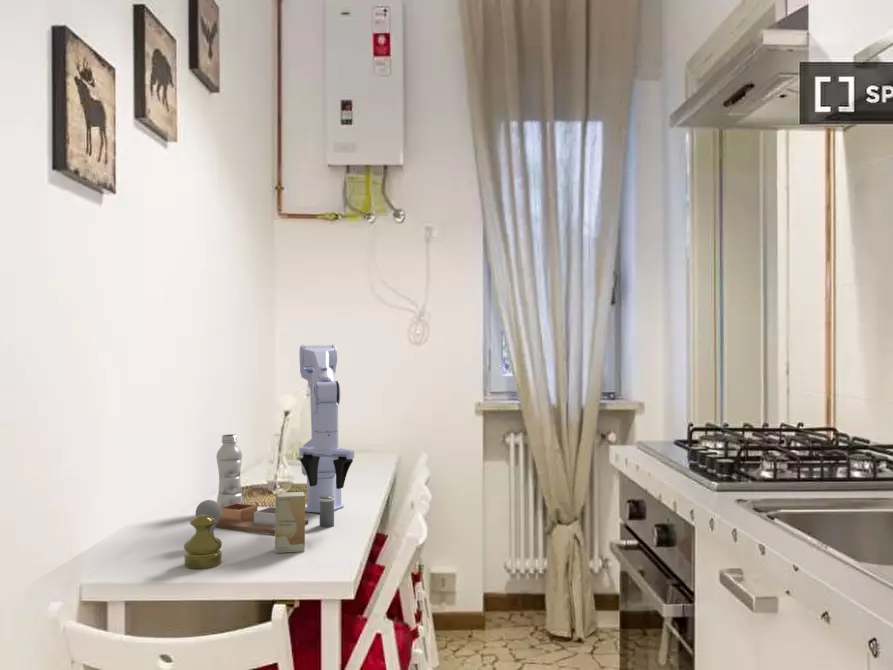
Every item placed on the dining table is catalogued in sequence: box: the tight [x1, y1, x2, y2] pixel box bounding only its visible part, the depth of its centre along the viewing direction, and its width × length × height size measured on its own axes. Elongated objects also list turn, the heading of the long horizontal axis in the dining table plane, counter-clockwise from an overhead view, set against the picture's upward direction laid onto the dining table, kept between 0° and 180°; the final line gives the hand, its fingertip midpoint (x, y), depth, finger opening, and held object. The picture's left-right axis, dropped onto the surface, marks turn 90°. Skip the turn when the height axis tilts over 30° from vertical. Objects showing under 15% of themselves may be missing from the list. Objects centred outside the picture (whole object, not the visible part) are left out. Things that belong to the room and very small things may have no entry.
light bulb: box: [195, 499, 221, 536], centre depth 183 cm, size 5×5×10 cm
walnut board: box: [214, 519, 309, 536], centre depth 201 cm, size 12×22×1 cm, turn 65°
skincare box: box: [274, 491, 306, 554], centre depth 178 cm, size 6×4×12 cm
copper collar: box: [219, 503, 258, 523], centre depth 204 cm, size 6×6×3 cm
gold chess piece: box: [183, 515, 223, 570], centre depth 168 cm, size 7×7×10 cm
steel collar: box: [254, 506, 276, 527], centre depth 199 cm, size 6×6×3 cm
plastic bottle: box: [216, 433, 244, 508], centre depth 216 cm, size 6×7×20 cm
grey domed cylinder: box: [319, 495, 335, 528], centre depth 200 cm, size 4×4×7 cm
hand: (326, 486), depth 200 cm, fingers open, 7 cm apart
